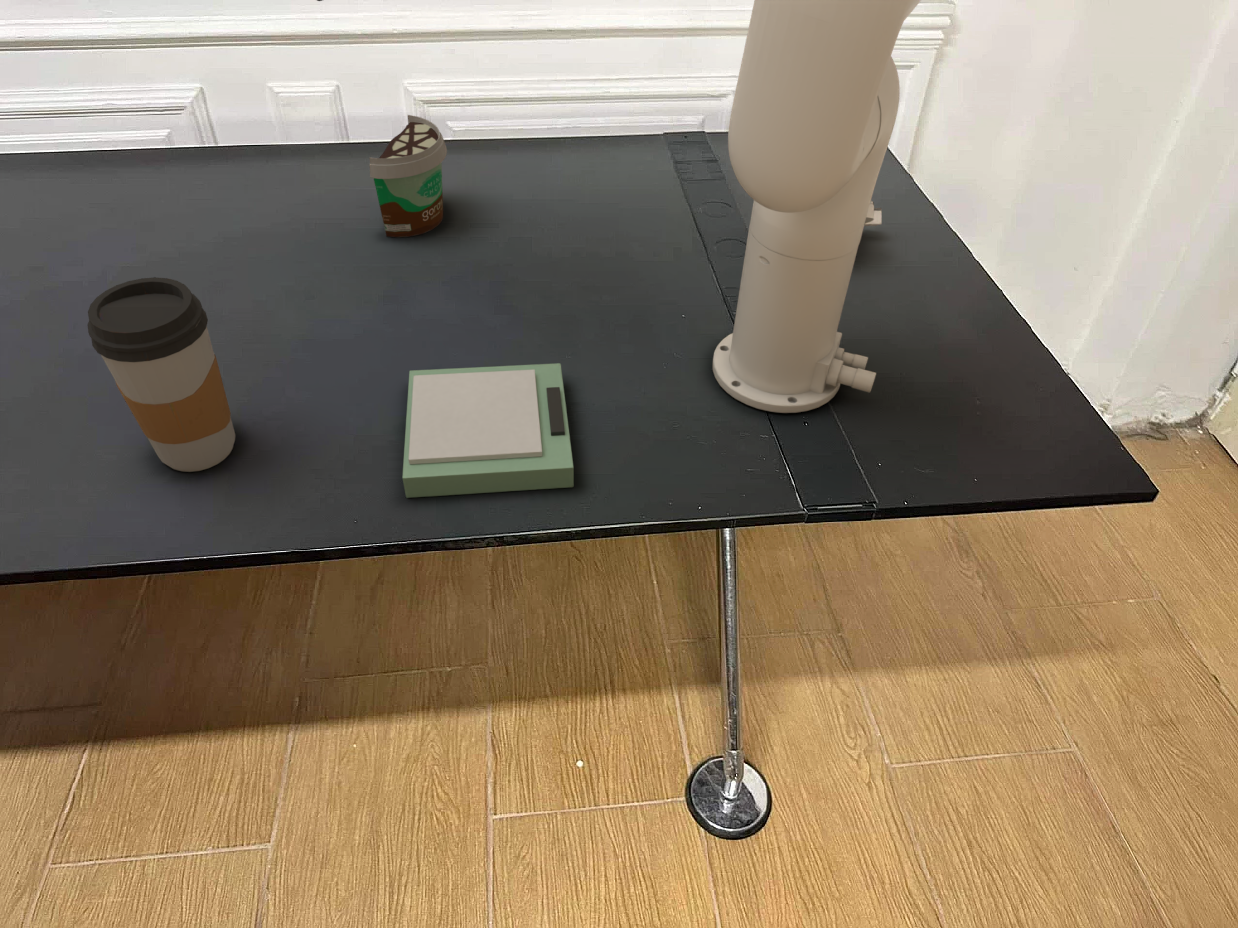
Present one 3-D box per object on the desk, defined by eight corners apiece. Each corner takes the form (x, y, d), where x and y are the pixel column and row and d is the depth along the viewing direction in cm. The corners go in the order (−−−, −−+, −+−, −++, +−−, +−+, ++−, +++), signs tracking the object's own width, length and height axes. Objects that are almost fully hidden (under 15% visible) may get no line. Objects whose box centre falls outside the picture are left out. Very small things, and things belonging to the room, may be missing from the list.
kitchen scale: (560, 382, 86) (560, 357, 84) (573, 487, 77) (573, 462, 75) (412, 390, 85) (408, 365, 83) (406, 498, 75) (401, 472, 73)
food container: (432, 250, 102) (422, 167, 95) (381, 243, 103) (367, 160, 96) (467, 198, 111) (460, 119, 104) (419, 192, 112) (409, 112, 105)
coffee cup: (163, 417, 81) (101, 274, 70) (258, 415, 82) (211, 273, 71) (134, 483, 75) (62, 338, 65) (236, 481, 76) (182, 336, 65)
